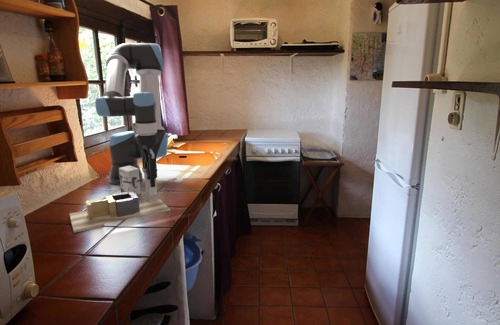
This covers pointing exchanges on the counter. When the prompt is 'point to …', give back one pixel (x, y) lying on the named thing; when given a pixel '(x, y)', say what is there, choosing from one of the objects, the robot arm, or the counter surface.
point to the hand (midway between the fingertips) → (151, 192)
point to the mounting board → (83, 223)
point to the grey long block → (148, 197)
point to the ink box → (129, 179)
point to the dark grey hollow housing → (126, 203)
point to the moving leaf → (101, 207)
